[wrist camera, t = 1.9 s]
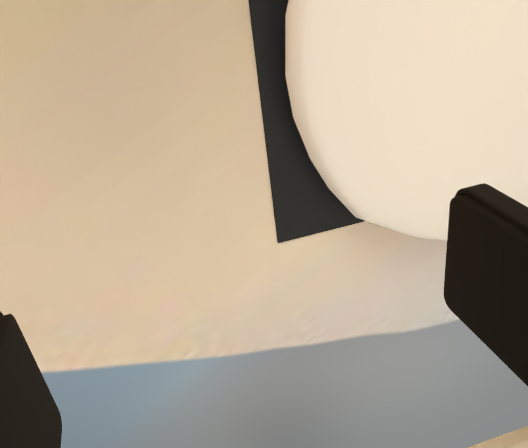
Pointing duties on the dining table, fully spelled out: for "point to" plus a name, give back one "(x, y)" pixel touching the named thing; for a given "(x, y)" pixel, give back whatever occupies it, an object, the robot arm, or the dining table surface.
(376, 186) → the plate
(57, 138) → the dining table surface
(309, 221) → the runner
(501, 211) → the robot arm
